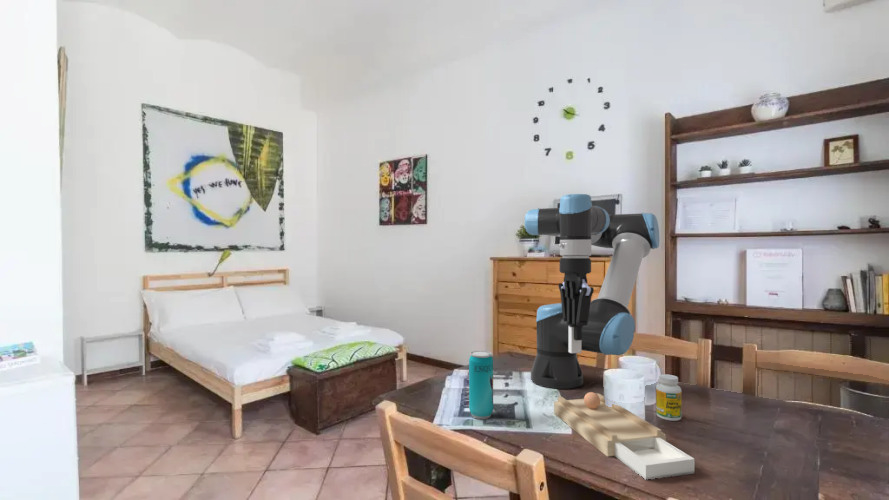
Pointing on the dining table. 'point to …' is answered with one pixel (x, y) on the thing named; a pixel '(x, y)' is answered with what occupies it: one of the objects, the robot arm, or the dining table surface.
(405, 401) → the dining table surface
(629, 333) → the robot arm
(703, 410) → the dining table surface
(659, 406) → the supplement bottle
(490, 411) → the beverage can
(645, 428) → the chute
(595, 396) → the ball
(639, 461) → the dish
